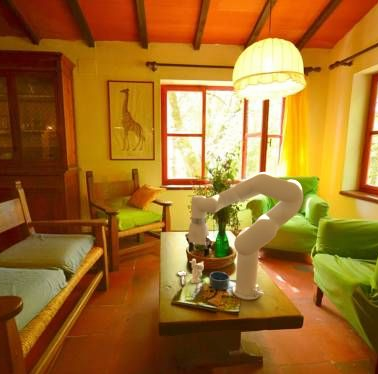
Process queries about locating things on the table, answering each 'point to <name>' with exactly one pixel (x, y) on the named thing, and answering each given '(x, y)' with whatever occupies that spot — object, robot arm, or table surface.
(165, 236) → the table surface
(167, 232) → the table surface
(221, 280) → the bowl
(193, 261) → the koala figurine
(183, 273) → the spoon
